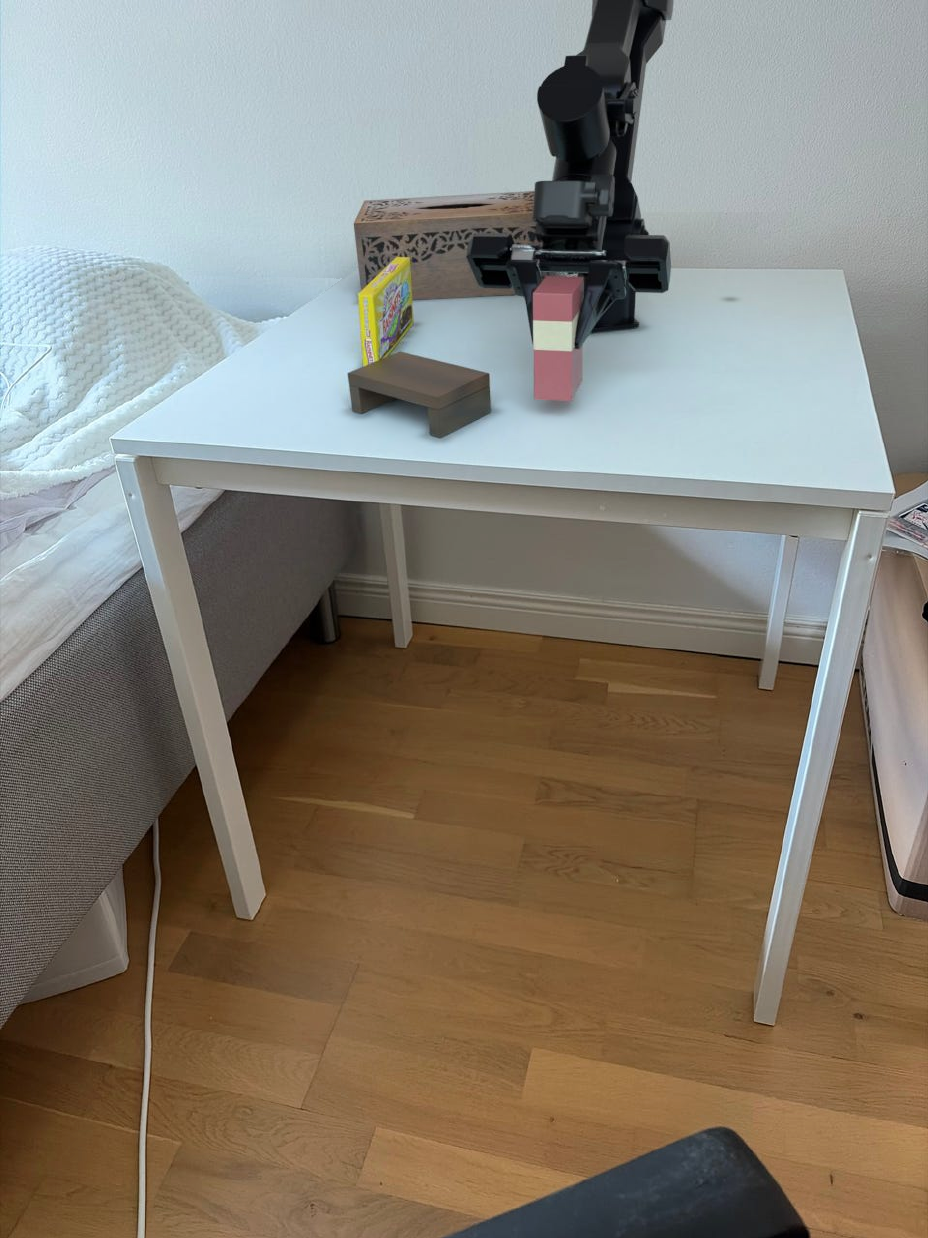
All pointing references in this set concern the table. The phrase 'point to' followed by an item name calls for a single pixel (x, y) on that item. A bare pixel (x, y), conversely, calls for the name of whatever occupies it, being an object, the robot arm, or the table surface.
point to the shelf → (423, 389)
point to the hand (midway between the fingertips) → (555, 346)
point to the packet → (557, 338)
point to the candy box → (385, 310)
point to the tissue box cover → (439, 238)
